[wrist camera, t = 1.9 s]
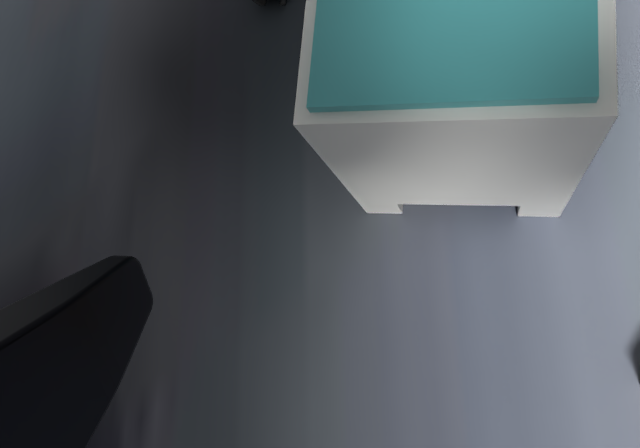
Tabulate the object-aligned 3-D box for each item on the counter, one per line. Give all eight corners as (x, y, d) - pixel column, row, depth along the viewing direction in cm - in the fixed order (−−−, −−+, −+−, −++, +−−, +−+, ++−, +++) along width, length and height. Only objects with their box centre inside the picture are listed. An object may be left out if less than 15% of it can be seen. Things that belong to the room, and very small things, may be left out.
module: (559, 217, 19) (621, 109, 11) (367, 213, 22) (288, 119, 13) (559, 87, 20) (616, -107, 12) (375, 95, 23) (308, -66, 14)
